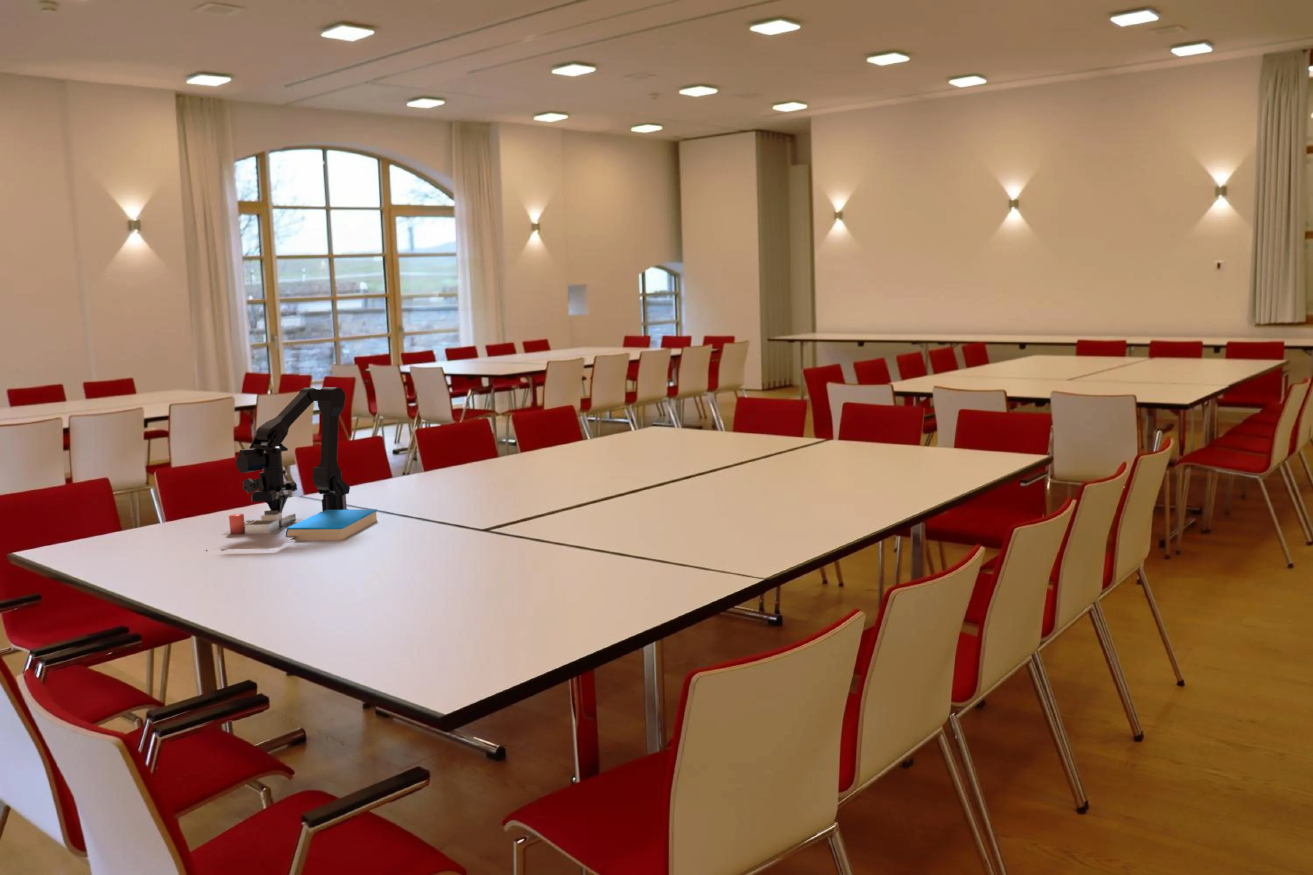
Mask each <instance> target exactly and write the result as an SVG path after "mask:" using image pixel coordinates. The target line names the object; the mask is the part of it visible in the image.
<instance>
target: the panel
mask: <svg viewBox="0 0 1313 875" xmlns="http://www.w3.org/2000/svg"><path fill="white" fill-rule="evenodd" d="M301 521H303V518H297V517H296V513H295V512H294V513H290V514H288V515H286V516H284V517H282V519H280V520H261V518H260V519H247V520H245V521H244V523H245V532H243V533H238V534H231V533H230V530H229V531H226V532H225V533H222V534H221V536H234V535H235V536H236V535H237V536H238V535H241V536H242V535H276V534H278V533H280V532H282V531H284V530H285V529H286V530H287V528H288V527H290V526H292V525H294V524H296V523H298V522H301Z"/></svg>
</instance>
